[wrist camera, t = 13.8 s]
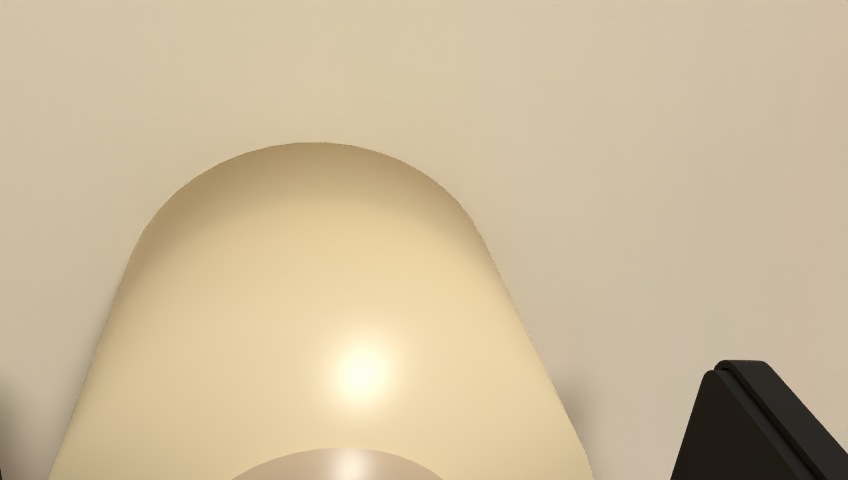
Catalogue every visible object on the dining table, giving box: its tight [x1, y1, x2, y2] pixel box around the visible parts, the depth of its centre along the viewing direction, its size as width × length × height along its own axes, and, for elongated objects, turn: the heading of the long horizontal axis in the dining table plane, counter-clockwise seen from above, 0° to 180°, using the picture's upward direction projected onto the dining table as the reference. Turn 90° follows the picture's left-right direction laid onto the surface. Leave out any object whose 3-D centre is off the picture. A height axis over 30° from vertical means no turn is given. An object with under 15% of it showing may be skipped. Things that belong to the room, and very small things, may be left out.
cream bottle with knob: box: [48, 143, 594, 480], centre depth 11 cm, size 6×6×5 cm
